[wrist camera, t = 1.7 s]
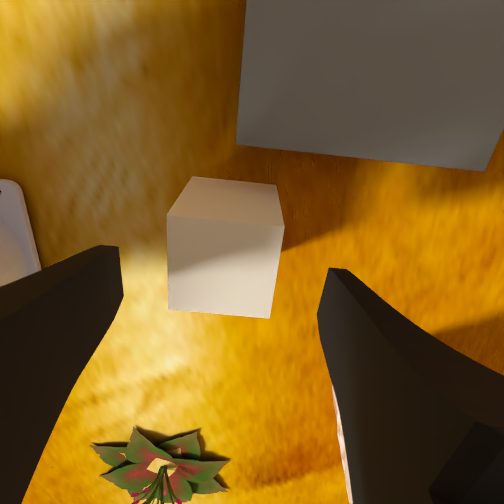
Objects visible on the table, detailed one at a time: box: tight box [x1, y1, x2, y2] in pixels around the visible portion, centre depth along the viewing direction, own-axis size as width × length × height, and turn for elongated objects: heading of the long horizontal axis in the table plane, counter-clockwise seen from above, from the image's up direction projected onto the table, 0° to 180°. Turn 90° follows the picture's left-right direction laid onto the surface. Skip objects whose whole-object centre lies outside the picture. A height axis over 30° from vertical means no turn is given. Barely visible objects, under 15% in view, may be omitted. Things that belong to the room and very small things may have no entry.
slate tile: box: [236, 0, 504, 172], centre depth 11 cm, size 10×10×2 cm
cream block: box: [166, 176, 285, 318], centre depth 14 cm, size 4×4×5 cm
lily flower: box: [89, 427, 229, 504], centre depth 25 cm, size 12×12×5 cm
